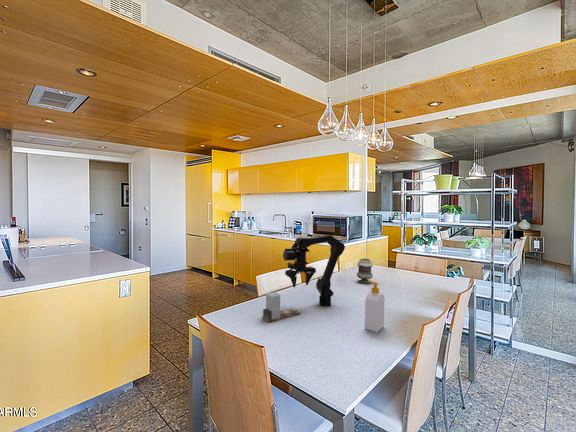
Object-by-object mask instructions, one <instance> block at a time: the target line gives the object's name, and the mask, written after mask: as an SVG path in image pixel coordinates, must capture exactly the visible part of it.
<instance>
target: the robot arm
mask: <svg viewBox="0 0 576 432" xmlns="http://www.w3.org/2000/svg"><path fill="white" fill-rule="evenodd" d="M323 243H327V244H328V245H329V246H330V249H329V251H330V255H329V258H328V261H327V263H326V267H325V269H324V272H323V274H322V277H320V278H319V277H318V278H317V281H316V283H315V288H316V290H317V292H318V293H319V298H318V299H319V301H318V304H319V306H320V307H332V297H333V296H334V293H335V292H334V291H333V290H332V289H331V285H332V284H331V278H332V276H333V273H334V271H335V268H336V265H337V262H338V259H339V257H340V256H341V255H342V254H343V253H344V251H345V248H346V246H345V243H343V242H341V241H339V239H337V238H335V237H334V236H333V235H332V234H325V235H318V236H311V237H301V236H300V237H296V239H295V241H294V243H293V245H292V246H291V248H284V251H283V253H282V258H283V260H284V262H286V261H287V262H288V261H294V262H293V263H292V262H288V263H287V269H286V270H285V272H284V275H285V276H286V277H288V278H289V279H290V281H291V284H292V287H293V288H296V284H297V277H298V276H297V275H299V274H303V273H304V275H305V285H306V286H308V285H309V283H310V281H311V279H312V278H313V276H314V275H315V274H316V273H317V269H316V268H315V267H314V266H307V264H308V261H307V252H308V253H309V252H310V249H308V248H309V247H311V246H312V245H318V244H323Z"/></svg>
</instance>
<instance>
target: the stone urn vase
mask: <svg viewBox="0 0 576 432" xmlns="http://www.w3.org/2000/svg"><path fill="white" fill-rule="evenodd" d="M356 265H357V267H358V272H357V273H356V277H357V278H359V280H357V282H358V283H359V284H364V285H370V284H371V282H370V280H371V279H372V278H373V276H374V274H373V273H372V267H373V266H374V264H373V262H372V260H371V259H370V258H365V257H364V258H359V260H358V262H357V264H356ZM368 282H370V283H368Z"/></svg>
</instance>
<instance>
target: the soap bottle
mask: <svg viewBox="0 0 576 432" xmlns="http://www.w3.org/2000/svg"><path fill="white" fill-rule="evenodd" d="M369 281H370V280H369ZM370 282H371V283H372V284H373V287H371V291H368V293H366V296H365V301H364V329H365V330H368V331H371V332H375V333H378V332H380V330H381V328H382V327H383V328H384V326H385V300H386V299H385V295H384V294H383V293H380V288H379V287H378V285H380V282H378V281H373V280H371V281H370ZM370 282H368V283H370ZM371 283H370V284H371Z"/></svg>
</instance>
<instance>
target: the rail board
mask: <svg viewBox="0 0 576 432" xmlns="http://www.w3.org/2000/svg"><path fill="white" fill-rule="evenodd" d="M301 314H302V313H301V312H300V311H299V309H298V308H297V307H295V308H288V309H285V310H280V318H277V319H273V320H272V312H271V311H269V310H267V309H266V308H263V309H262V319H263V320H265V321H266V322H268V323H274V322H277V321H280V320H284V319H288V318H292V317H295V316H299V315H301Z"/></svg>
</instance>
